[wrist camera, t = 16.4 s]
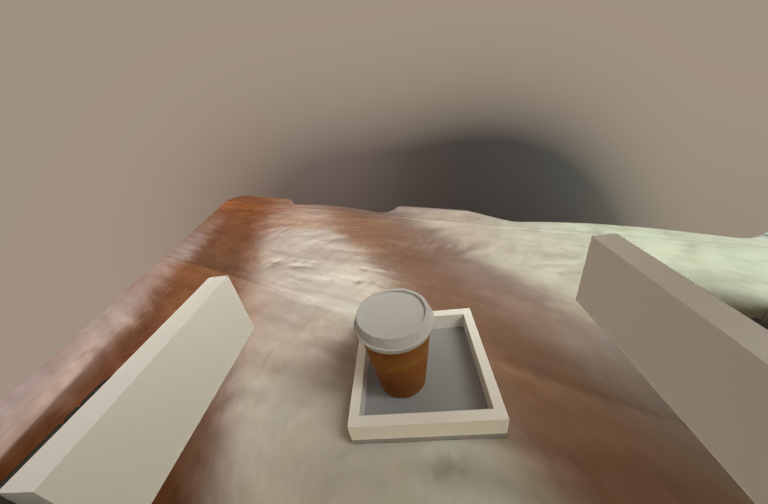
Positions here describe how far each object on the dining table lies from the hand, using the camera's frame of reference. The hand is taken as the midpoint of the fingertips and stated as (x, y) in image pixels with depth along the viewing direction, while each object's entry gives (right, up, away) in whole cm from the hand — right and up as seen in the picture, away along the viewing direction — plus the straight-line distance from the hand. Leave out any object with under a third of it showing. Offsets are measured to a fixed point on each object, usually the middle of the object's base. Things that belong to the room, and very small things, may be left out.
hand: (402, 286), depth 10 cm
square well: (+5, -16, +29) cm, 33 cm away
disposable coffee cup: (+2, -16, +28) cm, 32 cm away
